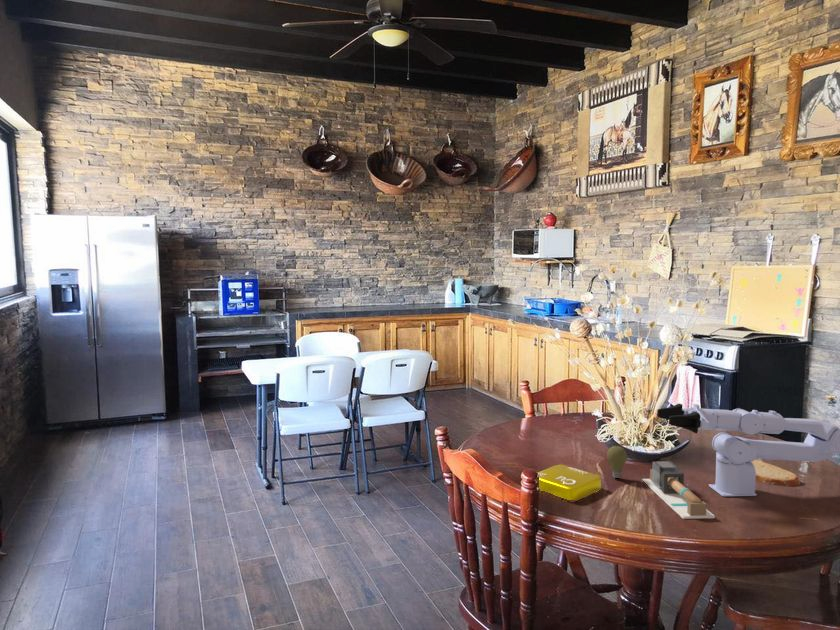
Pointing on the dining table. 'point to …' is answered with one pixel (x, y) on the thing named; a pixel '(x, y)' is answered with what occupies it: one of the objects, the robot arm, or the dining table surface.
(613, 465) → the light bulb
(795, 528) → the dining table surface
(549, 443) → the dining table surface
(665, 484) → the grey square frame
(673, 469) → the sleeve
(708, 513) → the pipe rig
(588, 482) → the element tile
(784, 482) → the slice of bread
